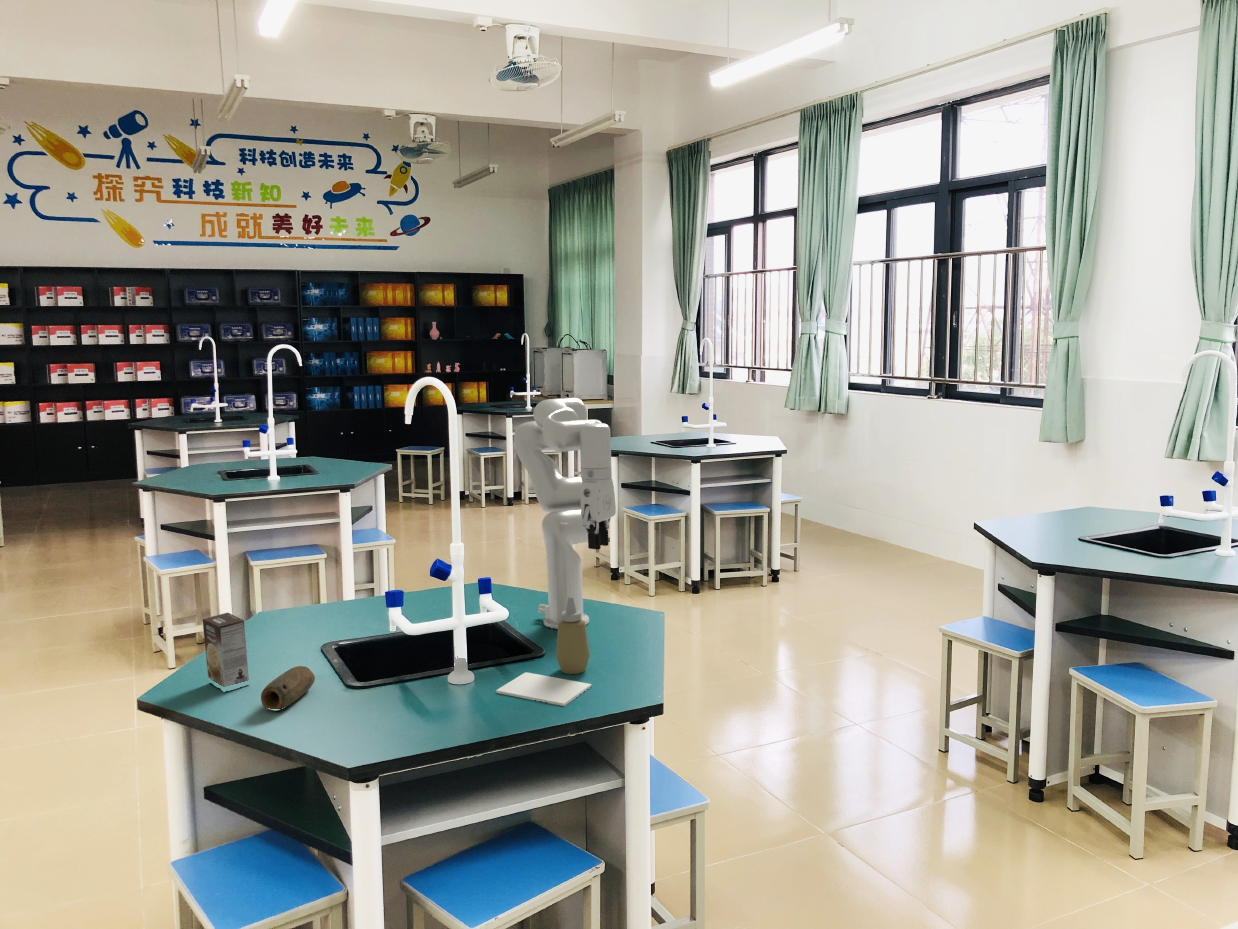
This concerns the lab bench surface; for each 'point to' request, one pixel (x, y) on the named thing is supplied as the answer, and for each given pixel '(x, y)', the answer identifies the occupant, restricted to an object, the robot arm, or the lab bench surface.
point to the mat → (544, 688)
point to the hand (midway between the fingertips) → (598, 546)
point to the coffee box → (225, 649)
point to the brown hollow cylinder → (287, 687)
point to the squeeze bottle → (572, 641)
